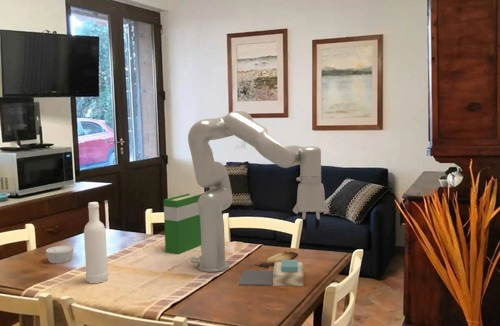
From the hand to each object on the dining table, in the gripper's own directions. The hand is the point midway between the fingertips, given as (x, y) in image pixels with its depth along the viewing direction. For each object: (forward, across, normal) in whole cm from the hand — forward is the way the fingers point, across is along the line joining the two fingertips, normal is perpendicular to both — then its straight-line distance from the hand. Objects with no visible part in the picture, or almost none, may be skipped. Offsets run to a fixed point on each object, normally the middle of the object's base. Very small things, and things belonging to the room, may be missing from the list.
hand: (310, 228), depth 198 cm
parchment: (+20, -13, +24) cm, 34 cm away
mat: (+19, -20, 0) cm, 28 cm away
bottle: (+19, -81, -4) cm, 83 cm away
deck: (+19, -8, 0) cm, 21 cm away
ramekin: (+20, -107, +20) cm, 111 cm away
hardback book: (+19, -57, +40) cm, 73 cm away
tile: (+15, -8, 0) cm, 17 cm away
